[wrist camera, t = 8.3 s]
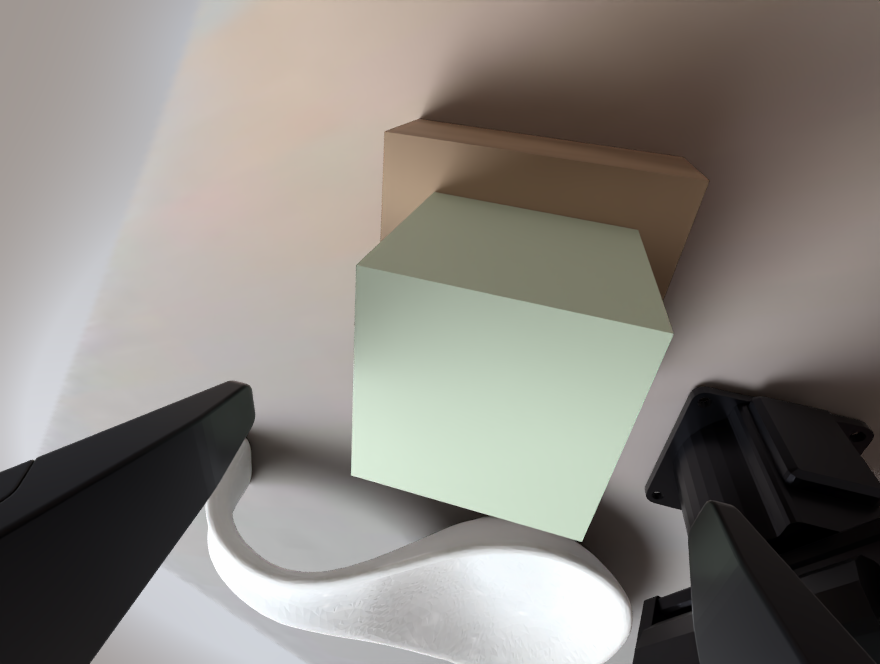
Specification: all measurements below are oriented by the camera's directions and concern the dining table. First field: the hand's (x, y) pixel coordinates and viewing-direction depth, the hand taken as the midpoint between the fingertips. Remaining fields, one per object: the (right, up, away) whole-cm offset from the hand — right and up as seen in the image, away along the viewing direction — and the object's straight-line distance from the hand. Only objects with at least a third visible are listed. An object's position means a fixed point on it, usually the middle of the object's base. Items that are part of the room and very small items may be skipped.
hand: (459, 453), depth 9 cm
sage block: (+2, +3, +6) cm, 7 cm away
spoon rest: (-2, -9, +19) cm, 21 cm away
